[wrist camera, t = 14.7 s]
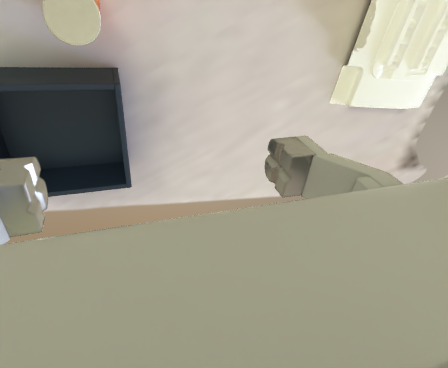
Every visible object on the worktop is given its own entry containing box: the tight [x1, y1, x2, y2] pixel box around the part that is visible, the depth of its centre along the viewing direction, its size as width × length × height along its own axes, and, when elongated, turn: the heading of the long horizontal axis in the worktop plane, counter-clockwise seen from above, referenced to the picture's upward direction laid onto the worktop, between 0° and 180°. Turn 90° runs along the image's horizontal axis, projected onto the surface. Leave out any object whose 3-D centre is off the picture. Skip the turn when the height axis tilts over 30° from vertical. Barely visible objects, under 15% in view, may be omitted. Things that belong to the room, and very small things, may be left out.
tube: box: [43, 0, 101, 46], centre depth 27 cm, size 4×4×10 cm
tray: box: [330, 0, 448, 109], centre depth 43 cm, size 20×28×4 cm
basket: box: [0, 67, 132, 197], centre depth 35 cm, size 14×13×6 cm
